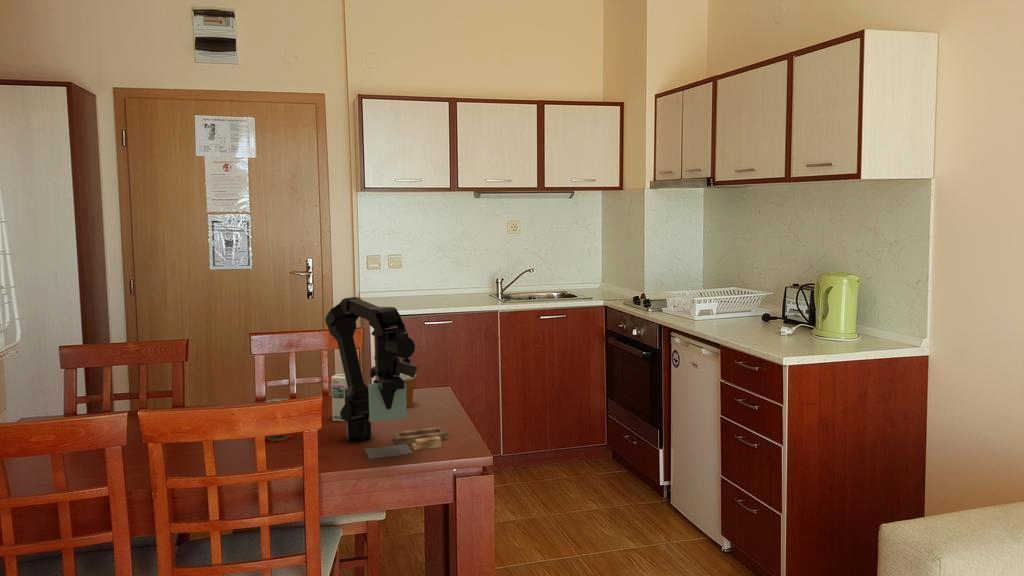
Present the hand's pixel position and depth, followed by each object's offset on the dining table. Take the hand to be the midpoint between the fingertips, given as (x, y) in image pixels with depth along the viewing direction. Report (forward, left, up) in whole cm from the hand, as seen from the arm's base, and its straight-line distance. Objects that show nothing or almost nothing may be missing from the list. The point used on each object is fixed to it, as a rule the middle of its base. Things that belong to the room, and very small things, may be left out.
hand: (387, 407), depth 215 cm
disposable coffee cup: (+14, +46, -13) cm, 50 cm away
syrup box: (-7, +38, -13) cm, 41 cm away
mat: (0, 0, -13) cm, 13 cm away
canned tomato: (-28, +26, -13) cm, 40 cm away
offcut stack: (+11, 0, -13) cm, 17 cm away
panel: (0, 0, -3) cm, 3 cm away
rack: (+11, +8, -13) cm, 19 cm away
